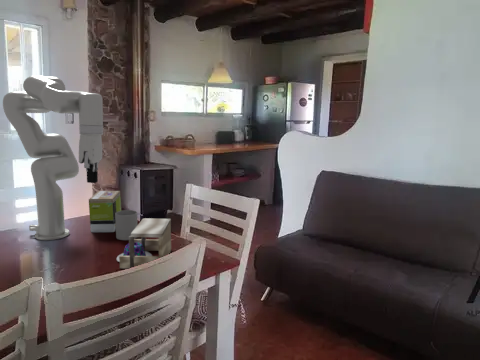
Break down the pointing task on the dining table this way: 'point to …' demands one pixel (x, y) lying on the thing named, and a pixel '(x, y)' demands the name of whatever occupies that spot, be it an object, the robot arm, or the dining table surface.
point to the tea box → (104, 210)
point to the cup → (125, 223)
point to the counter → (148, 241)
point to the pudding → (137, 249)
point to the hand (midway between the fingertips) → (92, 182)
